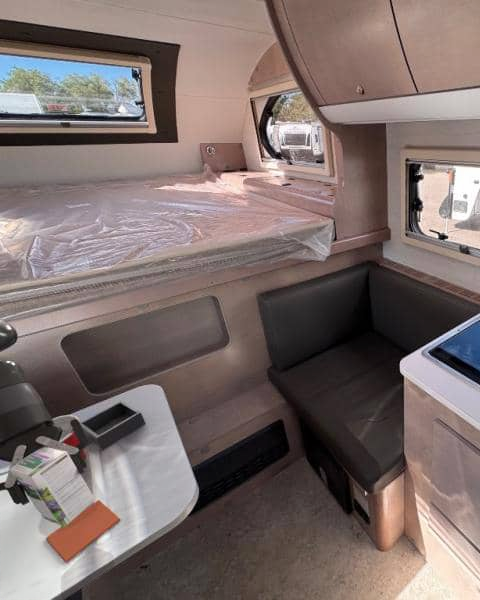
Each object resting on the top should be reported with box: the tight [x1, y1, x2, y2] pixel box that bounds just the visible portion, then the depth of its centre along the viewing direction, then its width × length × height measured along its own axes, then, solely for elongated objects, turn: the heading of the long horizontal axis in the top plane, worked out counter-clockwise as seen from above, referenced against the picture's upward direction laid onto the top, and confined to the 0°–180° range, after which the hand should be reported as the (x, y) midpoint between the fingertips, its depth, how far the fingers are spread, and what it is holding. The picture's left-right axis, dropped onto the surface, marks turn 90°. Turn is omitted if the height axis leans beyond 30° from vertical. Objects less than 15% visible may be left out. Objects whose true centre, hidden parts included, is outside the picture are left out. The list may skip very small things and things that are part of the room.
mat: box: [45, 499, 121, 563], centre depth 68 cm, size 9×9×1 cm
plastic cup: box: [52, 414, 87, 461], centre depth 79 cm, size 11×11×12 cm
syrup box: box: [9, 446, 96, 527], centre depth 62 cm, size 6×6×14 cm
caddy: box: [80, 400, 146, 451], centre depth 91 cm, size 10×10×4 cm
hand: (55, 487), depth 61 cm, fingers closed on syrup box, 7 cm apart
